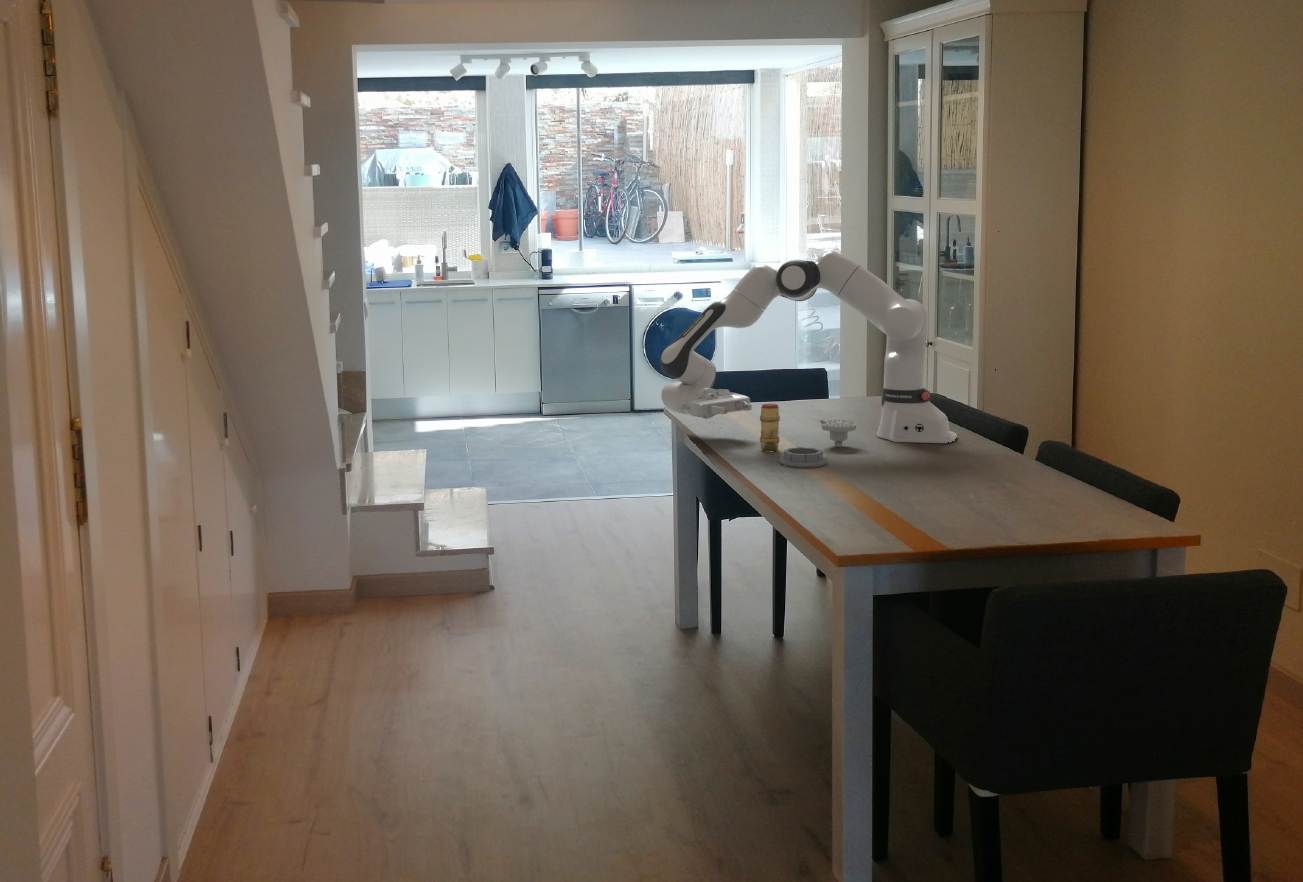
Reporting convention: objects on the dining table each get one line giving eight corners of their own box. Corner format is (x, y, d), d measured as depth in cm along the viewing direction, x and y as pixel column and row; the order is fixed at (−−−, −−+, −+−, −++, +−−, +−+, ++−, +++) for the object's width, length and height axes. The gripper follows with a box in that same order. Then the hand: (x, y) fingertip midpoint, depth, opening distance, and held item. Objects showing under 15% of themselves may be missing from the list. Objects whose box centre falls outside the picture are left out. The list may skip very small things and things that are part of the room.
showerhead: (820, 417, 353) (856, 418, 351) (820, 442, 354) (856, 443, 352) (818, 422, 344) (855, 424, 342) (818, 448, 345) (854, 450, 343)
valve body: (781, 449, 345) (782, 403, 342) (776, 452, 340) (776, 407, 338) (762, 447, 347) (763, 402, 344) (757, 451, 342) (757, 405, 340)
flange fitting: (831, 460, 330) (831, 448, 329) (819, 469, 319) (819, 457, 319) (787, 457, 335) (787, 445, 334) (774, 465, 324) (774, 453, 323)
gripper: (677, 395, 354) (710, 402, 344) (730, 388, 367) (763, 394, 357) (677, 417, 355) (710, 424, 345) (729, 410, 368) (762, 416, 358)
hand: (737, 409), depth 351 cm, fingers open, 8 cm apart
